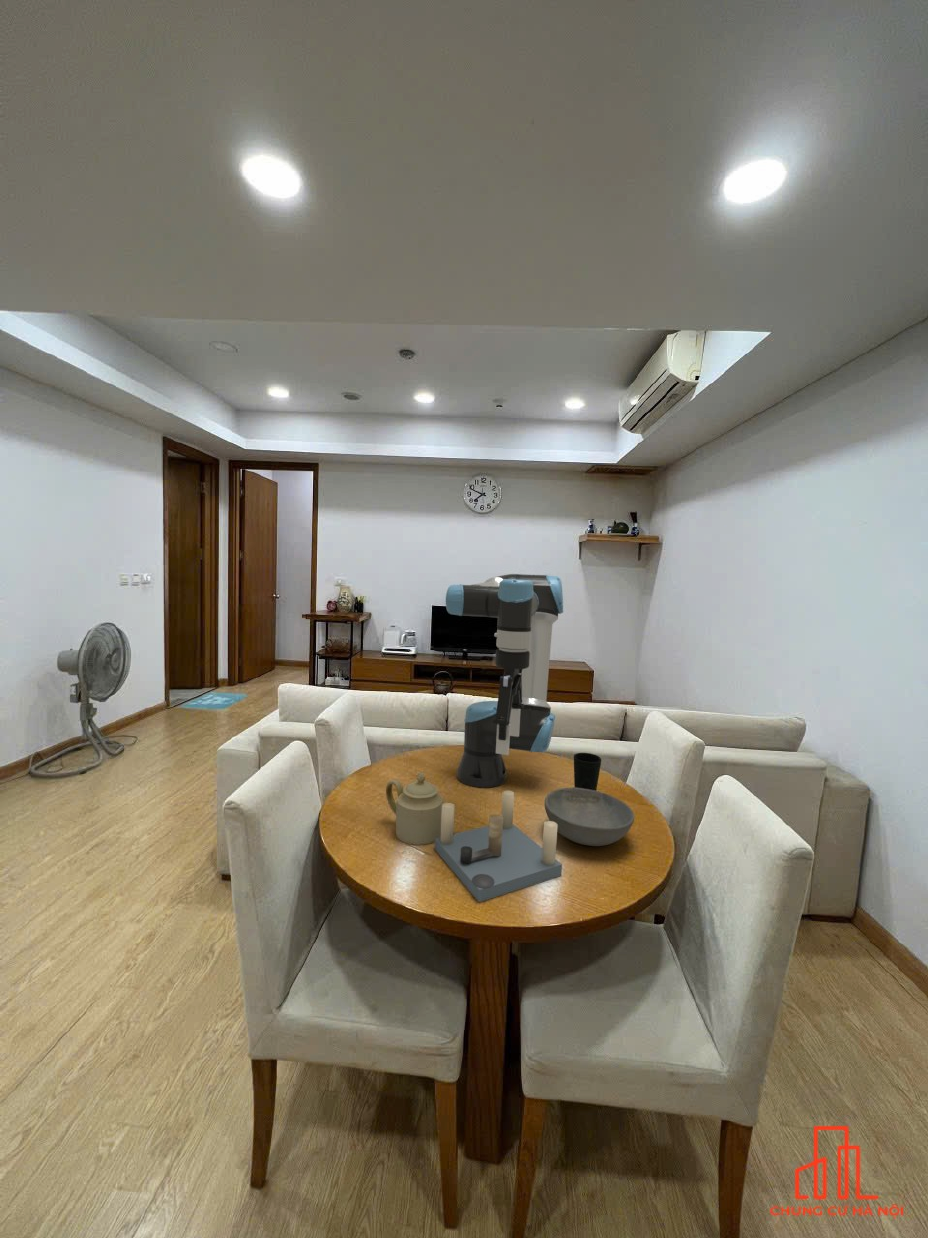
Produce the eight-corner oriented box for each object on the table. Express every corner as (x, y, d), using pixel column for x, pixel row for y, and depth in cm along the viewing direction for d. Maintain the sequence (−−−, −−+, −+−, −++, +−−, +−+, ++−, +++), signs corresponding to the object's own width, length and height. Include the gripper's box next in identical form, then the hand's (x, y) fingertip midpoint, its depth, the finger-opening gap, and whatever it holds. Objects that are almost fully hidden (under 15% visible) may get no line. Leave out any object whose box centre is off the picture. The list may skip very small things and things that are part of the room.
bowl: (537, 813, 130) (539, 784, 129) (617, 817, 130) (619, 788, 129) (549, 859, 109) (551, 824, 108) (644, 864, 108) (646, 829, 108)
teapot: (373, 841, 113) (375, 778, 112) (386, 818, 124) (388, 760, 123) (437, 848, 112) (440, 784, 110) (445, 823, 122) (447, 765, 121)
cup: (599, 806, 135) (602, 764, 134) (571, 802, 137) (573, 760, 136) (597, 794, 143) (600, 754, 142) (570, 791, 144) (573, 751, 143)
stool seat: (433, 849, 111) (435, 803, 110) (508, 830, 120) (510, 788, 119) (478, 903, 93) (481, 849, 92) (561, 876, 103) (565, 827, 102)
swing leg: (464, 865, 100) (465, 828, 99) (457, 858, 103) (459, 822, 102) (503, 854, 105) (505, 819, 104) (496, 847, 107) (498, 813, 106)
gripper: (506, 641, 121) (502, 726, 123) (483, 655, 98) (478, 760, 100) (537, 643, 119) (532, 730, 121) (520, 659, 96) (514, 766, 98)
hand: (507, 744), depth 111 cm, fingers open, 12 cm apart
